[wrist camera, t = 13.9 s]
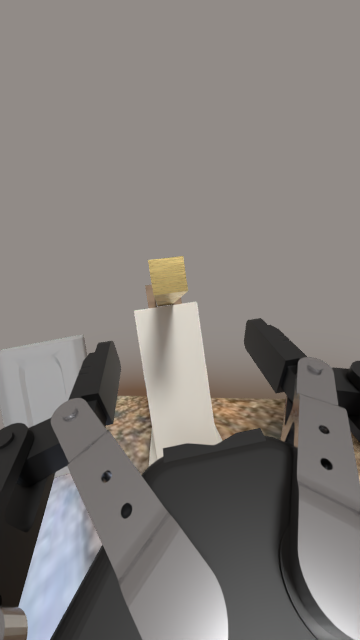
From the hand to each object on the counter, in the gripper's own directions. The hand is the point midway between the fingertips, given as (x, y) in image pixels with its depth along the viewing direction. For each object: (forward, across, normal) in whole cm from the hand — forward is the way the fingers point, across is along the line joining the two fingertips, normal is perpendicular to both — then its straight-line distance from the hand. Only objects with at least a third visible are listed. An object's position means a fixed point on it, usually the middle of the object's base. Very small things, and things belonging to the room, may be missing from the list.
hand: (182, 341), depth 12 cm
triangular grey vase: (+17, +26, +43) cm, 53 cm away
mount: (+14, 0, +42) cm, 44 cm away
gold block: (+17, 0, +6) cm, 17 cm away
